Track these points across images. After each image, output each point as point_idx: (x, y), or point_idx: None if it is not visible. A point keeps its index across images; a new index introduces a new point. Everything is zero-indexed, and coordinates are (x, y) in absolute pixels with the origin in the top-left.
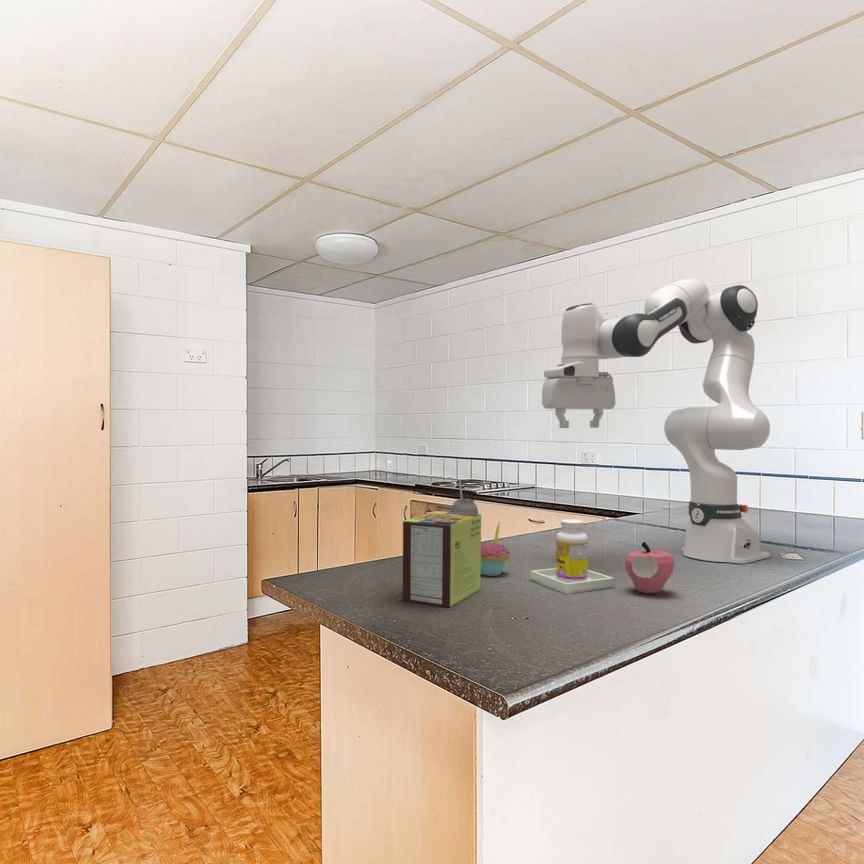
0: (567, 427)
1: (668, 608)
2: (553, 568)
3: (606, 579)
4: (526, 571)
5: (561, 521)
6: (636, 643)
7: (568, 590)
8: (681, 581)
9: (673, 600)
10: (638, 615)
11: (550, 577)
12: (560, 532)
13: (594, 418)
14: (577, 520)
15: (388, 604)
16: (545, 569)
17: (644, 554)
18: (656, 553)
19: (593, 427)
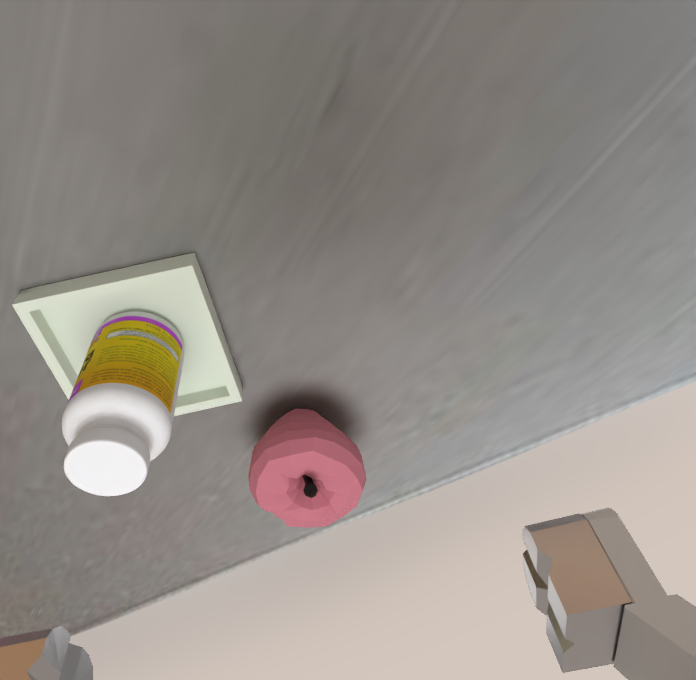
0: (76, 673)
1: None
2: (102, 286)
3: (215, 406)
4: (31, 181)
5: (64, 464)
6: (125, 613)
7: None
8: (446, 358)
9: None
10: (192, 531)
11: (62, 377)
12: (71, 433)
13: (658, 650)
14: (130, 463)
15: None
16: (70, 295)
17: (280, 512)
18: (306, 521)
19: (525, 562)
